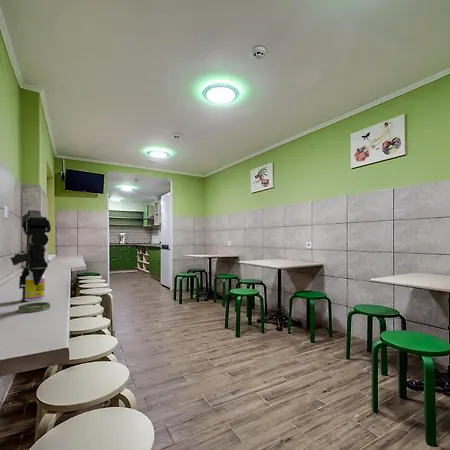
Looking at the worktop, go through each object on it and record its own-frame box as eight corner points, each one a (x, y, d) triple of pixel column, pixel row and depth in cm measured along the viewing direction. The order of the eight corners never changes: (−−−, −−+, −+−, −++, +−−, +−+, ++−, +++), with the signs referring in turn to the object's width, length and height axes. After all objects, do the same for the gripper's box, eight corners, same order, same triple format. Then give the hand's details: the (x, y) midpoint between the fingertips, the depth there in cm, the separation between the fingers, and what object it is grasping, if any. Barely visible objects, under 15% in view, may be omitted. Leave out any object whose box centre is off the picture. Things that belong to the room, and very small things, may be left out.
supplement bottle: (35, 302, 109) (36, 269, 110) (20, 301, 110) (21, 269, 111) (48, 298, 116) (49, 268, 117) (33, 298, 116) (34, 268, 117)
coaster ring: (17, 309, 113) (17, 304, 113) (48, 305, 120) (48, 301, 120) (18, 314, 105) (18, 309, 105) (51, 309, 112) (51, 305, 112)
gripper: (11, 246, 116) (10, 283, 115) (13, 247, 102) (11, 289, 101) (42, 246, 123) (41, 281, 122) (48, 246, 109) (47, 286, 108)
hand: (35, 284), depth 113 cm, fingers closed on supplement bottle, 7 cm apart
